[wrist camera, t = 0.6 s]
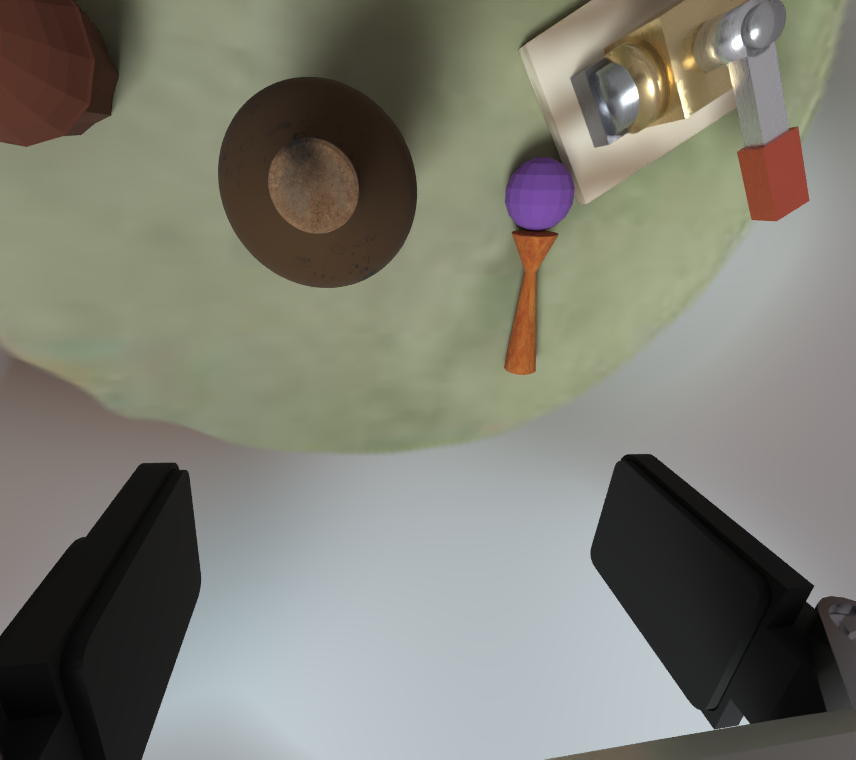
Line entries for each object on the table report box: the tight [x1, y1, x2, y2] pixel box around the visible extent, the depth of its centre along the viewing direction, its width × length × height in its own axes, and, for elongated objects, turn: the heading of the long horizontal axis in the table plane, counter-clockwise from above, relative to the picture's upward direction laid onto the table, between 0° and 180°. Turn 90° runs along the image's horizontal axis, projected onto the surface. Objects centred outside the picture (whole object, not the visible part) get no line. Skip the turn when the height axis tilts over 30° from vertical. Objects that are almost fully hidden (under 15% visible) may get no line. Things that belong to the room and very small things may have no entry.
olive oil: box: [218, 77, 417, 288], centre depth 27 cm, size 11×11×25 cm
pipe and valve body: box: [570, 0, 749, 148], centre depth 35 cm, size 7×13×7 cm, turn 121°
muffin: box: [0, 0, 119, 147], centre depth 27 cm, size 12×11×10 cm
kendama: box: [504, 157, 575, 375], centre depth 42 cm, size 6×6×20 cm
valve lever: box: [693, 0, 809, 221], centre depth 32 cm, size 14×3×4 cm, turn 31°
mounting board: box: [519, 0, 737, 204], centre depth 39 cm, size 14×18×2 cm
